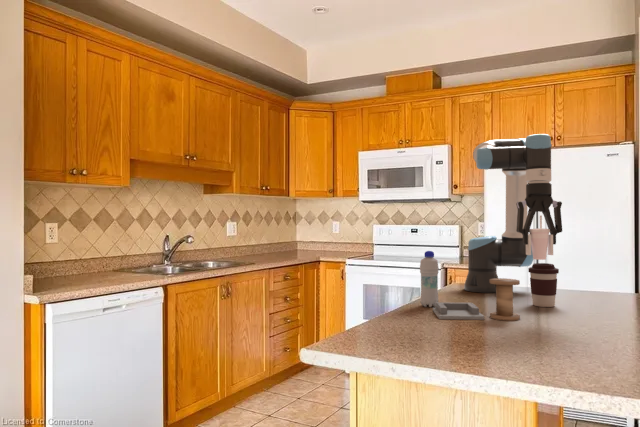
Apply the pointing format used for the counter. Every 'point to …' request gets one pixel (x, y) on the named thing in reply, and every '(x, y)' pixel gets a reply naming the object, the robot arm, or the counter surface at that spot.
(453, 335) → the counter surface
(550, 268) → the coffee cup
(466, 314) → the notch board
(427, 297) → the bottle
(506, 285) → the bobbin
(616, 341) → the counter surface
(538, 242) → the smoothie
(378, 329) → the counter surface
